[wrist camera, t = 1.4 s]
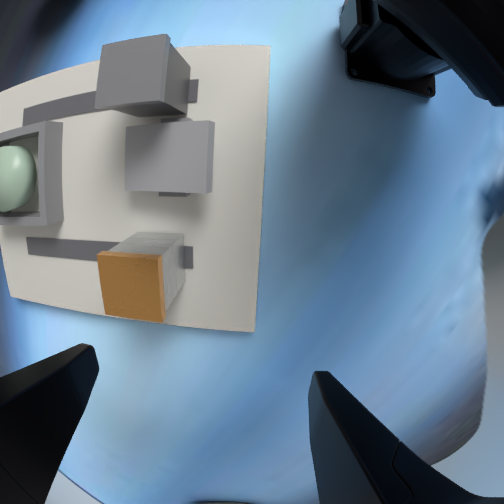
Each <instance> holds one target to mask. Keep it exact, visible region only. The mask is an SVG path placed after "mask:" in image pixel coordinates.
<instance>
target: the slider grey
mask: <svg viewBox="0 0 504 504" xmlns="http://www.w3.org/2000/svg"><path fill="white" fill-rule="evenodd" d="M170 39H171V38H170V37H169V36H168V35H167V34H161V35H154V36H147V37H141V38H135V39H130V40H124V41H119V42H115V43H110V44H106V45H103V46H102V51H101V58H100V64H99V71H98V79H97V88H96V97H95V108H96V109H100V110H102V109H111V110H115V111H118V112H122V113H126V114H129V115H133V116H136V117H151V116H166V115H187V110H188V95H189V82H190V70H191V67H190V65H189V64H188V63H187V62H186V61H185V59H184V58H183V57H182V56H181V55H180V54H179V52H178V51H177V50H176V49H175V48H174V47H173V45H172V44H171V43H170Z"/></svg>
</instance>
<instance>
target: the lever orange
mask: <svg viewBox="0 0 504 504" xmlns="http://www.w3.org/2000/svg"><path fill="white" fill-rule="evenodd" d="M97 262H98V271H99V278H100V285H101V292H102V299H103V305H104V310H105V315H111V316H118V317H124V318H131V319H138V320H146V321H153V322H161V323H163V321H164V319H165V318H166V311H167V309H168V307H169V306H170V304H171V303H172V301H173V299H174V298H175V296H176V295H177V293H178V291H179V290H180V288H181V287H182V285H183V283H184V282H185V255H184V234H179V233H158V232H137V233H135V234H134V235H132V236H130V237H129V238H127V239H125V240H124V241H122V242H121V243H119V244H118V245H116V246H114V247H113V248H111V249H110V250H108V251H102V252H100V253H98V254H97Z"/></svg>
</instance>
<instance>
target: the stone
mask: <svg viewBox="0 0 504 504" xmlns="http://www.w3.org/2000/svg"><path fill="white" fill-rule="evenodd" d="M199 504H247V503H235V502H216V503H199Z"/></svg>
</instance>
